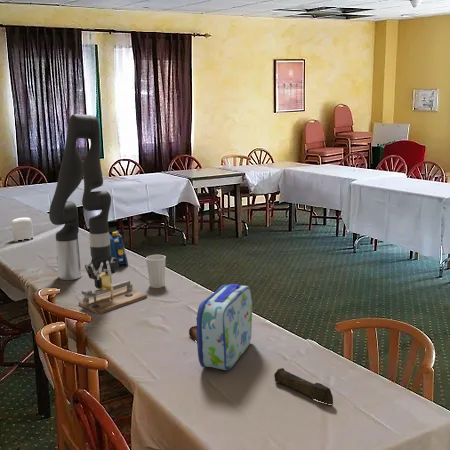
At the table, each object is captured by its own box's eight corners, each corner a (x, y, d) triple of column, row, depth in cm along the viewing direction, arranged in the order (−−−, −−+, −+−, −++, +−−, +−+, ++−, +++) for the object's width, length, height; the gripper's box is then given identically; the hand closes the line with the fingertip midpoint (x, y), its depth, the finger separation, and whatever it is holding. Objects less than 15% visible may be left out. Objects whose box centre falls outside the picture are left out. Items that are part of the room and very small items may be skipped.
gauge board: (78, 305, 225) (77, 289, 224) (125, 289, 241) (124, 275, 240) (100, 314, 216) (99, 298, 215) (147, 297, 232) (146, 282, 230)
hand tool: (273, 383, 164) (273, 368, 163) (283, 378, 166) (283, 363, 165) (325, 411, 149) (325, 395, 148) (335, 405, 152) (336, 389, 151)
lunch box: (224, 336, 195) (223, 275, 190) (256, 340, 191) (255, 278, 186) (193, 372, 171) (190, 303, 166) (228, 377, 167) (226, 307, 162)
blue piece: (123, 257, 285) (117, 227, 281) (128, 265, 272) (122, 234, 267) (96, 264, 282) (89, 234, 278) (100, 273, 268) (92, 241, 264)
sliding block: (96, 296, 229) (94, 275, 227) (105, 294, 232) (103, 272, 230) (108, 301, 224) (107, 279, 222) (117, 298, 226) (115, 276, 224)
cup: (170, 283, 247) (169, 255, 244) (160, 289, 240) (159, 261, 237) (154, 281, 251) (152, 253, 248) (143, 287, 244) (142, 259, 241)
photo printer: (14, 242, 320) (12, 219, 317) (13, 240, 324) (10, 218, 321) (34, 239, 325) (31, 217, 322) (32, 237, 328) (30, 215, 326)
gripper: (109, 238, 231) (112, 280, 235) (78, 246, 221) (82, 289, 225) (121, 241, 226) (124, 284, 230) (89, 249, 216) (93, 294, 220)
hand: (103, 286), depth 228 cm, fingers closed on sliding block, 4 cm apart
